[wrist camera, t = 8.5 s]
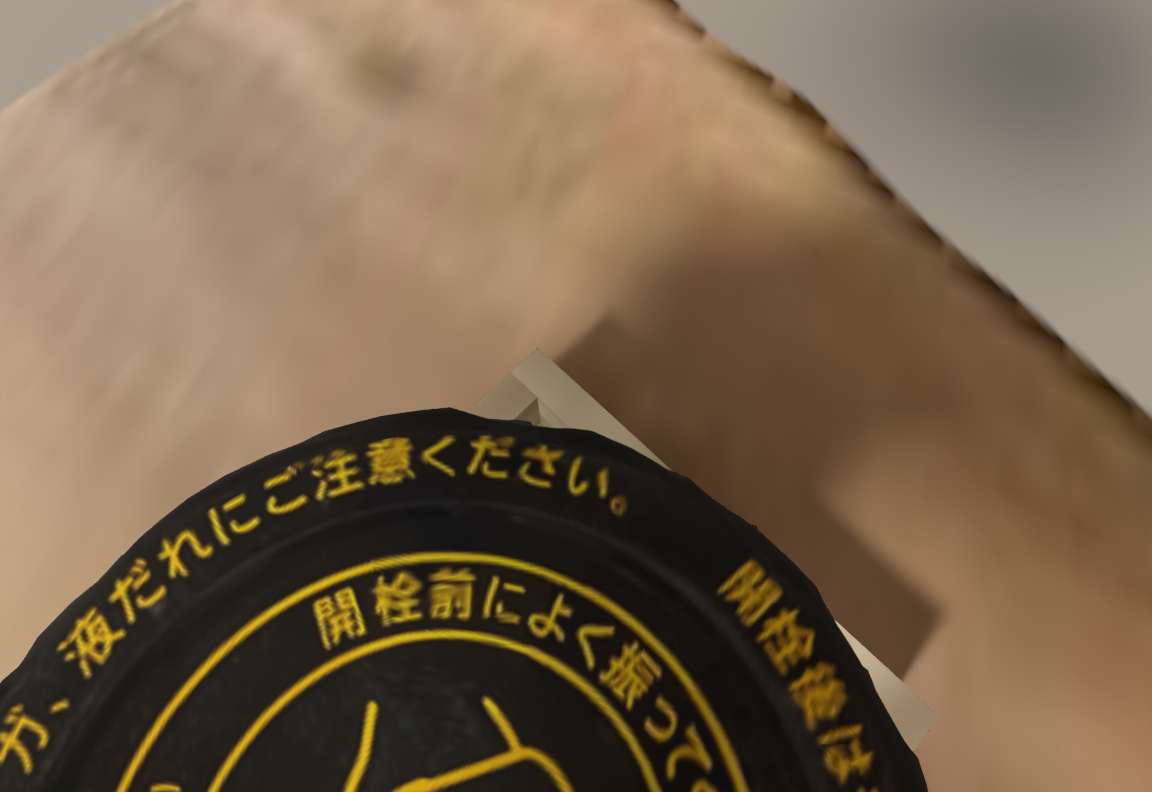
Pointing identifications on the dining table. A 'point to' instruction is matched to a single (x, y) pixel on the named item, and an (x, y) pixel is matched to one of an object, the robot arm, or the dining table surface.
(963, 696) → the dining table surface
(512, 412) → the caddy
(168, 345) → the dining table surface
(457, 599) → the condiment
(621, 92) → the dining table surface
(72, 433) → the dining table surface
